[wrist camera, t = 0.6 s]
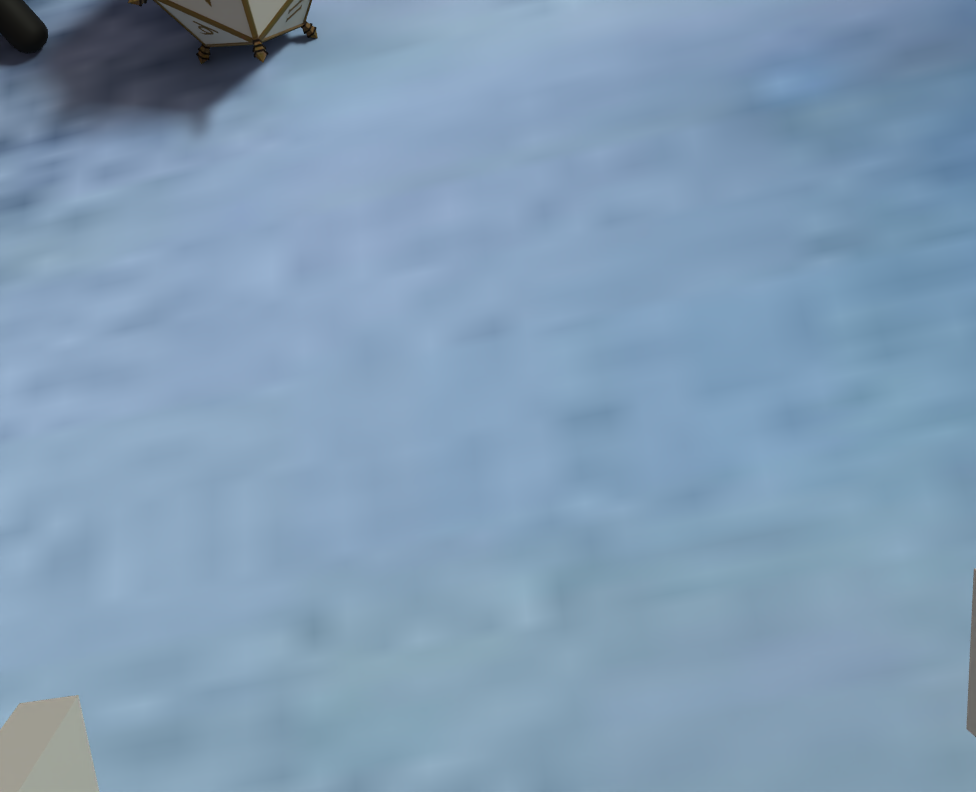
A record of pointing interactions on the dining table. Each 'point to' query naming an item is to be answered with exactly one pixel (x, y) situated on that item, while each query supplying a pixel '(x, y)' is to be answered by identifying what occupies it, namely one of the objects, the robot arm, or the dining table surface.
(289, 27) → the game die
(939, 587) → the dining table surface
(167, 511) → the dining table surface
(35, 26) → the toy ball
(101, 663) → the dining table surface
